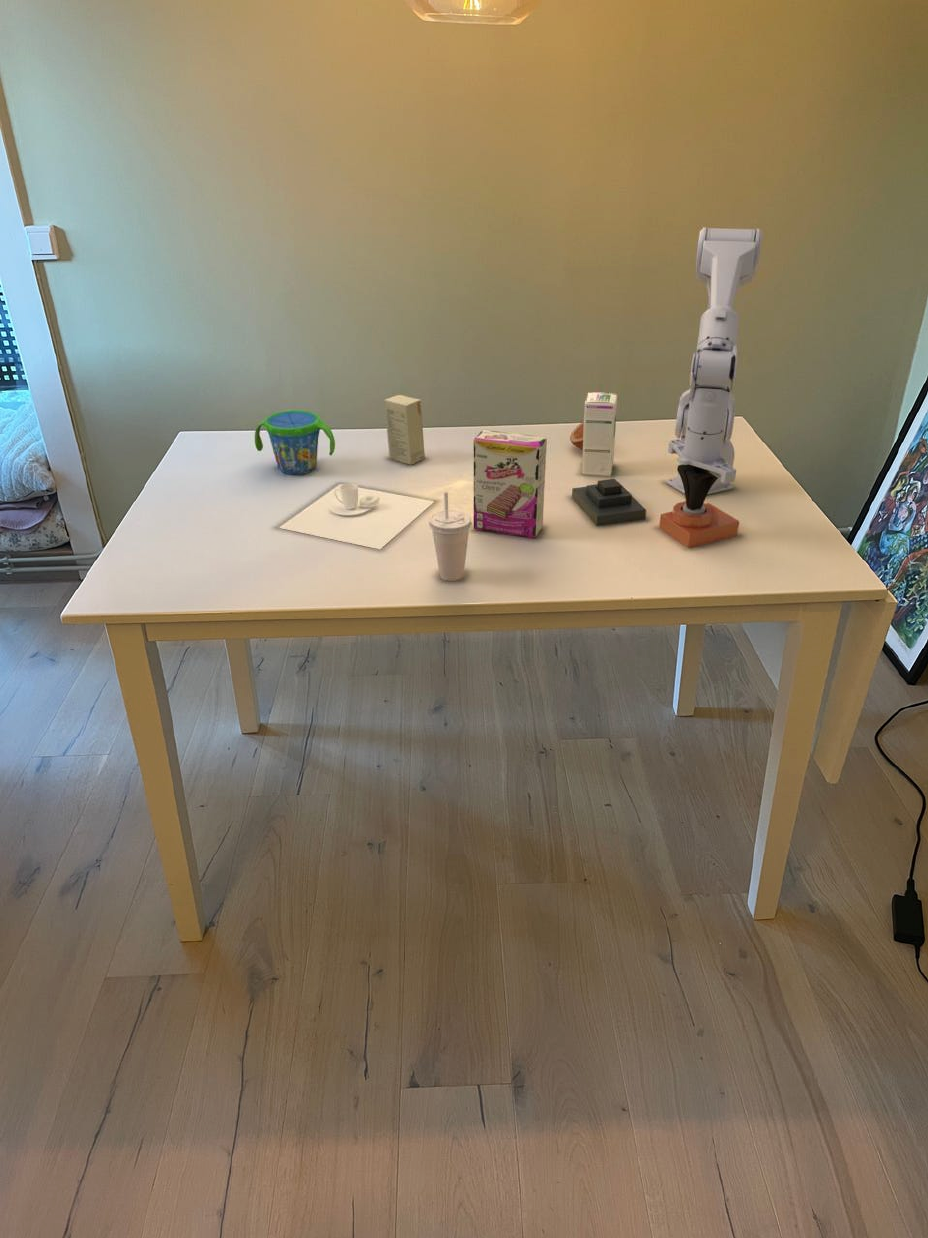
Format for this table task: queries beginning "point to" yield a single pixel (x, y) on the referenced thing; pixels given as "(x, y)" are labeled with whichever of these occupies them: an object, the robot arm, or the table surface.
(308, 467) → the snack cup
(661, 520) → the orange knob plate
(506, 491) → the candy bar box
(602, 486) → the dark top block
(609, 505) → the dark gray socket plate
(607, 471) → the syrup box
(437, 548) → the smoothie
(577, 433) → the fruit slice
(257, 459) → the table surface
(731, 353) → the robot arm
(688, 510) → the gray push button
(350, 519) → the teacup and saucer
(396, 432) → the cosmetic box
